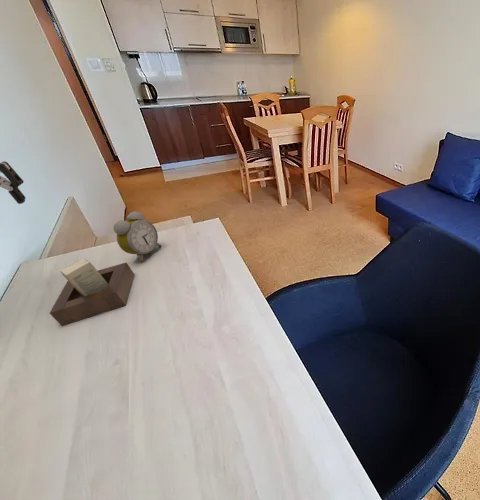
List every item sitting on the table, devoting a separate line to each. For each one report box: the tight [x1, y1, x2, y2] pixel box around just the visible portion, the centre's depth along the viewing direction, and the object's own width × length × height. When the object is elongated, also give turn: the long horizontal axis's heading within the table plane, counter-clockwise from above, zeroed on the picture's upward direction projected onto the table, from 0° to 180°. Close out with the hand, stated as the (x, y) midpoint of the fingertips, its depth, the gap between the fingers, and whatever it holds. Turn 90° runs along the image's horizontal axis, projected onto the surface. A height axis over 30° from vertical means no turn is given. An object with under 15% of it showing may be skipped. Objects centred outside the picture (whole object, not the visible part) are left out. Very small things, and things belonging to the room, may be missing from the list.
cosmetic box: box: [59, 258, 108, 297], centre depth 85 cm, size 6×4×12 cm
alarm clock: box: [112, 210, 162, 263], centre depth 102 cm, size 12×7×15 cm, turn 171°
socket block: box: [49, 262, 135, 327], centre depth 88 cm, size 16×16×5 cm
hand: (2, 207), depth 79 cm, fingers open, 8 cm apart
